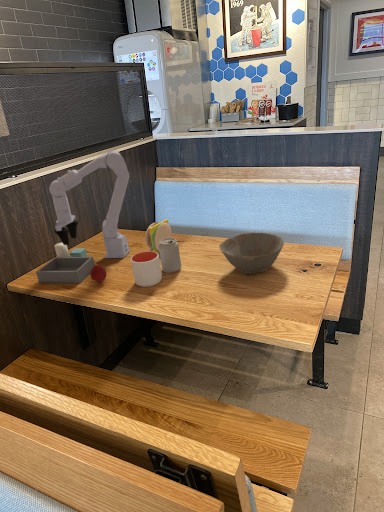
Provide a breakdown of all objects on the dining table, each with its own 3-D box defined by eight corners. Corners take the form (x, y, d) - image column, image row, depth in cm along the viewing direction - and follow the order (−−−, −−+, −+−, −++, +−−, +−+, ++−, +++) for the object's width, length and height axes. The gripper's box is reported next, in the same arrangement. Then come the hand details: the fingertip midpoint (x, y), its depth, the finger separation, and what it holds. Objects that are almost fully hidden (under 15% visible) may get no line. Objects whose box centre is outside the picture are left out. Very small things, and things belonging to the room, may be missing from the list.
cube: (88, 258, 172) (85, 248, 170) (82, 263, 167) (80, 252, 165) (77, 258, 173) (75, 248, 171) (72, 263, 168) (69, 252, 166)
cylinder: (71, 256, 176) (68, 242, 173) (66, 261, 171) (62, 246, 168) (62, 256, 177) (58, 242, 174) (56, 261, 172) (52, 246, 170)
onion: (111, 279, 149) (106, 260, 146) (103, 286, 144) (98, 267, 141) (97, 278, 151) (93, 259, 148) (89, 285, 146) (84, 266, 143)
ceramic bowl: (296, 263, 143) (296, 237, 139) (261, 289, 129) (259, 262, 125) (246, 252, 158) (245, 228, 154) (209, 274, 143) (207, 249, 139)
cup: (141, 291, 138) (136, 265, 134) (131, 280, 146) (126, 256, 142) (166, 282, 141) (162, 257, 137) (156, 272, 150) (152, 248, 146)
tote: (95, 267, 161) (93, 256, 159) (79, 283, 149) (76, 271, 147) (57, 268, 165) (54, 257, 163) (39, 283, 153) (35, 271, 151)
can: (179, 273, 147) (174, 243, 142) (160, 273, 148) (155, 244, 144) (183, 265, 153) (179, 236, 149) (165, 265, 155) (160, 237, 150)
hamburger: (160, 243, 178) (156, 218, 173) (175, 245, 174) (172, 219, 169) (144, 253, 169) (139, 227, 164) (159, 256, 165) (154, 229, 160)
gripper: (61, 205, 167) (68, 235, 172) (45, 216, 154) (53, 248, 159) (77, 204, 166) (83, 234, 171) (62, 215, 153) (69, 247, 158)
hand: (70, 241), depth 165 cm, fingers open, 7 cm apart
